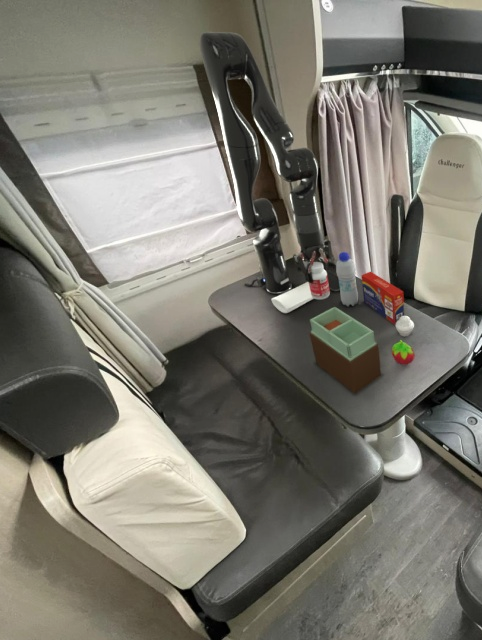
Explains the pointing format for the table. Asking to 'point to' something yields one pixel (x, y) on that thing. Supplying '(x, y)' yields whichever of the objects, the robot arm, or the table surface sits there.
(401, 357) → the strawberry
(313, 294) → the pill bottle
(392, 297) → the red cardboard box
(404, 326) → the muffin
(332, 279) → the smartphone
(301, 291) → the squeeze bottle
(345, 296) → the bottle
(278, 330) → the table surface
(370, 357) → the rack
